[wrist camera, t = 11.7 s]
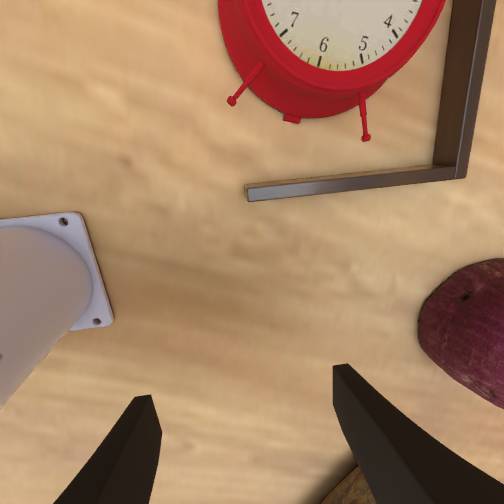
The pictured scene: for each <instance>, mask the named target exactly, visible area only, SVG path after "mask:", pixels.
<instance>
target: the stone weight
mask: <svg viewBox="0 0 504 504" xmlns="http://www.w3.org/2000/svg"><path fill="white" fill-rule="evenodd" d="M321 504H376V502H375V499H374V497H373V495H372V493H371V491H370V489H369V487H368V484H367V482H366V480H365V478H364V476H363V474H362V472H361V470H360V468H359V466H358V467H356V468H355V469H354V470H353V471H352V472H351V473H350V474H349V475H348V476H347V477H346V478H345V479H343V480H342V481H341V482H340V483H339V484H338V485H337V486H336V487H335V489H334V490H333V491H332V492H331V493H330V494H329V495H328V496H327V497H326V498H325V499H324V500H323V501H322V502H321Z"/></svg>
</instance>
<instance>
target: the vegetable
mask: <svg viewBox="0 0 504 504" xmlns="http://www.w3.org/2000/svg"><path fill="white" fill-rule="evenodd" d="M418 322H419V329H418V334H419V335H418V338H419V343H420V345H421V347H422V348H423V350H424V351H425V352H426V353H427V355H428V356H429V357H430V358H431V359H432V360H433V361H434V362H435V363H436V364H437V365H438V366H439V367H441V368H442V369H443V370H444V371H445V372H446V373H447V374H448V375H449V376H451V377H452V378H453V379H454V380H456V381H457V382H459V383H460V384H462V385H463V386H465V387H467V388H468V389H470V390H471V391H473V392H474V393H476V394H477V395H479V396H481V397H482V398H484V399H486V400H487V401H489V402H491V403H492V404H494V405H495V406H498V407H500V408H502V409H504V259H502V258H501V259H493V260H488V261H485V262H481V263H477V264H473V265H470V266H468V267H466V268H464V269H461V270H459V271H458V272H456V273H455V274H453V275H452V276H451V277H450V278H449V279H448V280H447V281H446V282H444V283H443V284H442V285H441V286H440V287H439V289H437V290H436V291H435V293H433V294H432V295H431V296H430V297H429V299H428V300H427V301H426V302H425V304H424V306H423V307H422V311H421V315H420V318H419V320H418Z"/></svg>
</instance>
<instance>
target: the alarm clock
mask: <svg viewBox="0 0 504 504" xmlns="http://www.w3.org/2000/svg"><path fill="white" fill-rule="evenodd" d="M445 1H446V0H218V8H219V18H220V24H221V30H222V34H223V38H224V41H225V45H226V47H227V50H228V53H229V55H230V58H231V60H232V62H233V64H234V65H235V67H236V69H237V71H238V73H239V74H240V76H241V77H242V79H243V80H244V83H243V84H242V85H241V87H240V88H239V89H238V91H237V92H236V93H235V94H234V96H233V97H232V96H229V97H228V99H227V102H228V103H229V104H230V105H231V106H235V104H236V103H237V102H236V99H237V98H238V97H239V96H240V95H241V94H242V92H243V91H244V90H245V89H246V88H247V87H248V86H249V88H250V89H251V90H252V91H253V92H254V93H255V94H256V95H257V96H258V97H260V98H261V99H262V100H263V101H264V102H266V103H267V104H269V105H270V106H272V107H274V108H275V109H277V110H279V111H282V112H284V113H286V114H285V118H284V121H288V122H292V123H296V124H299V123H300V119H301V117H304V118H322V117H328V116H332V115H336V114H340V113H342V112H345V111H347V110H349V109H351V108H354V107H355V106H357V105H359V108H360V116H361V118H362V127H363V136H362V139H361V140H362V141H363V142H366V141H369V140H370V138H371V136H370V134H368V132H367V120H366V115H367V113H366V102H365V100H366V99H368V98H369V97H370V96H371V95H373V94H374V93H375V92H376V91H377V90H378V89H379V88H380V87H381V86H382V85H383V84H384V82H385V81H386V80H387V79H388V78H389V77H391V76H392V75H393V74H395V73H396V72H397V71H398V70H399V69H400V68H402V67H403V66H404V65H405V64H406V63H407V62H408V61H409V59H410V58H411V57H412V56H413V55H414V54H415V52H416V51H417V50H418V48H419V47H420V46H421V45H422V44H423V42H424V41H425V39H426V38H427V36H428V35H429V33H430V32H431V30H432V29H433V27H434V25H435V23H436V21H437V19H438V17H439V15H440V13H441V11H442V9H443V7H444V4H445Z"/></svg>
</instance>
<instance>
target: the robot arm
mask: <svg viewBox="0 0 504 504" xmlns="http://www.w3.org/2000/svg"><path fill="white" fill-rule="evenodd" d="M62 218H65V219H67V221H68V225H66V224H64V223H63V221H62ZM95 318H98V319H100V320H101V321H97V320H96V319H95ZM113 320H114V316H113V313H112V310H111V306H110V303H109V300H108V297H107V294H106V290H105V287H104V284H103V281H102V277H101V274H100V271H99V268H98V265H97V261H96V258H95V255H94V252H93V248H92V245H91V242H90V239H89V235H88V232H87V229H86V226H85V223H84V219H83V217H82V216H81V215H80V214H79V213H77V212H64V213H55V214H46V215H36V216H27V217H18V218H8V219H0V408H1V407H2V406H3V405H4V404H5V403H6V401H7V400H8V399H9V398H10V397H11V396H12V395H13V393H14V392H15V391H16V390H17V389H18V388H19V386H20V385H21V384H22V383H23V382H24V381H25V380H26V378H27V377H28V376H29V375H30V374H31V373H32V372H33V370H34V369H35V368H36V367H37V366H38V365H39V363H40V362H41V361H42V360H43V359H44V358H45V357H46V355H47V354H48V353H49V352H50V351H51V350H52V349H53V347H54V346H55V345H56V344H57V343H58V342H59V341H60V339H61V338H62V337H63V336H64V335H65V334H66V332H68V331H75V330H83V329H90V328H97V327H105V326H109V325H110V324H111V323H112V322H113ZM333 406H334V409H335V412H336V415H337V418H338V420H339V423H340V426H341V429H342V431H343V434H344V436H345V438H346V440H347V442H348V444H349V446H350V449H351V451H352V453H353V455H354V457H355V459H356V461H357V463H358V466H359V468H360V470H361V472H362V474H363V476H364V478H365V480H366V482H367V484H368V487H369V489H370V491H371V493H372V495H373V497H374V499H375V502H376V504H504V484H502V483H501V482H499V481H497V480H496V479H494V478H493V477H491V476H489V475H488V474H486V473H485V472H483V471H481V470H480V469H478V468H477V467H475V466H473V465H472V464H470V463H469V462H467V461H466V460H464V459H463V458H461V457H460V456H458V455H457V454H455V453H454V452H453V451H451V450H450V449H448V448H447V447H446V446H444V445H443V444H441V443H440V442H439V441H437V440H436V439H435V438H433V437H432V436H431V435H429V434H428V433H427V432H425V431H424V430H423V429H421V428H420V427H419V426H418V425H416V424H415V423H414V422H413V421H411V420H410V419H409V418H408V417H406V416H405V415H404V414H403V413H402V412H401V411H399V410H398V409H397V408H396V407H395V406H394V405H392V404H391V403H390V402H389V401H388V400H387V399H386V398H384V397H383V396H382V395H381V394H380V393H379V392H378V391H377V390H375V389H374V388H373V387H372V386H371V385H370V384H369V383H368V382H367V381H366V380H365V379H364V378H363V377H362V376H361V375H360V374H358V373H357V372H356V371H355V370H354V369H353V368H352V367H351V366H350V365H349V364H348V363H347V364H341V365H334V366H333ZM161 438H162V430H161V426H160V423H159V420H158V417H157V413H156V410H155V407H154V403H153V400H152V397H151V394H150V395H144V396H137V397H134V399H133V400H132V401H131V403H130V404H129V405H128V407H127V408H126V410H125V411H124V412H123V414H122V415H121V417H120V418H119V419H118V421H117V422H116V424H115V425H114V426H113V428H112V429H111V431H110V432H109V433H108V435H107V436H106V437H105V439H104V440H103V442H102V443H101V444H100V446H99V447H98V448H97V450H96V451H95V452H94V454H93V455H92V456H91V458H90V459H89V460H88V462H87V463H86V464H85V465H84V467H83V468H82V469H81V470H80V472H79V473H78V474H77V475H76V477H75V478H74V479H73V480H72V482H71V483H70V484H69V485H68V487H67V488H66V489H65V490H64V491H63V493H62V494H61V495H60V496H59V497H58V499H57V500H56V501H55V502H54V503H53V504H149V500H150V496H151V492H152V488H153V483H154V479H155V475H156V471H157V466H158V461H159V454H160V447H161Z"/></svg>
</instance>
